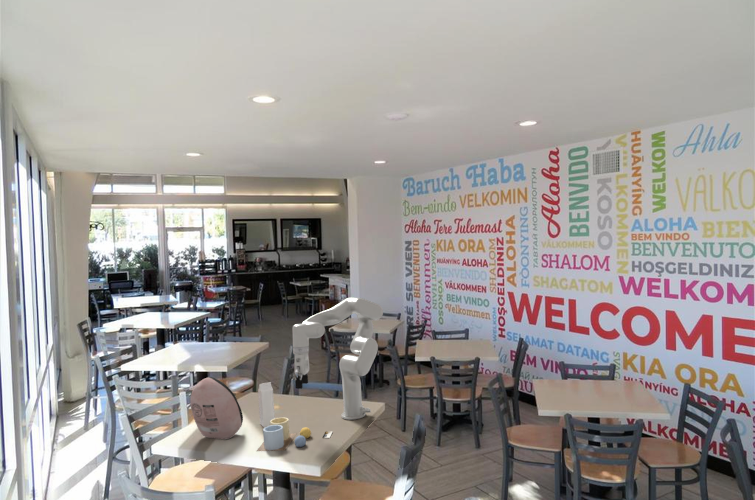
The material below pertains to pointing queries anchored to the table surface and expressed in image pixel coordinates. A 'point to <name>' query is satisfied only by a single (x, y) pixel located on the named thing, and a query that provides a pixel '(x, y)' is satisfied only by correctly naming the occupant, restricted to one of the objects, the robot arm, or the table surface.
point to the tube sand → (284, 423)
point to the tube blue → (273, 437)
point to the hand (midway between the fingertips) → (301, 385)
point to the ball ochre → (305, 432)
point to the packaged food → (215, 409)
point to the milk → (266, 403)
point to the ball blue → (300, 441)
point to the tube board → (288, 441)
